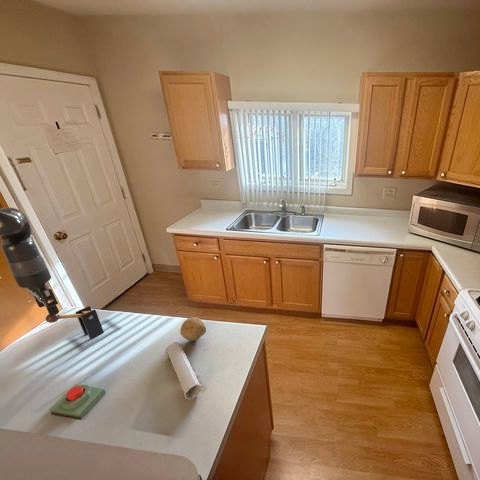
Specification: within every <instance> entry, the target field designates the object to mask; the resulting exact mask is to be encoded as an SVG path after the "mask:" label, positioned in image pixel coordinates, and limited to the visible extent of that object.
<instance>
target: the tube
mask: <svg viewBox="0 0 480 480" xmlns="http://www.w3.org/2000/svg"><path fill="white" fill-rule="evenodd" d="M166 352H167V355H168V358H169V360H170V362H171V365H172V367H173V369H174V372H175V374H176V377H177V380H178V381H179V383H180V387H181V389H182V391H183V396H184V398H185V399H186V400H190V401H191V400H193V399H194V398H196V397H198V396H199V395H200V393H201V392H202V391H203V386H202V384H201V383H200V382H199V380H198V378H197V375H196V373H195V371H194V369H193V367H192V365H191V363H190V361H189V359H188V357H187V355H186V353H185V350H184V349H183V346H182V345H181V343H180V342H177V341H174V342H171V343H169V345H168V346H167V347H166Z"/></svg>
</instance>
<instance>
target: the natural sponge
mask: <svg viewBox="0 0 480 480" xmlns="http://www.w3.org/2000/svg"><path fill="white" fill-rule="evenodd" d="M206 332H207V327H206V325H205V323H204V322H203V320H202V319H201V318H199V317H196V316H192V317H188V318H187V319H186V320H184V322H182V324H181V326H180V331H179V333H180V335H181V337H183V338H184V339H185V340H187V341H190V342H195V341H197V340H199V338H201V337H203V336H204V335H205V334H206Z"/></svg>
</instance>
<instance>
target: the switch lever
mask: <svg viewBox="0 0 480 480" xmlns="http://www.w3.org/2000/svg"><path fill="white" fill-rule="evenodd" d="M88 312H90V311H82V313H81V314H76V313H70V314H59V313H58V314H55V315H53V316H51V315H49V313H48V314H47V315H46V316H45V321H46V322H47V323H48V324H49V323H50V324H52V323H53V324H54V323H56V322H58V321H59V320H63V319H65V320H66V319H74V318H75V319H76V318H77V317H80V318H81V315H83V314H86V313H88ZM77 319H78V318H77Z"/></svg>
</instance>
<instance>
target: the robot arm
mask: <svg viewBox="0 0 480 480" xmlns="http://www.w3.org/2000/svg"><path fill="white" fill-rule="evenodd" d="M0 239H1V244H0V249H1V252H2V254H3V256H4V258H5V260H6V262H7V265H8V269H9V270H10V272H11V274H12V276H13V279H14V281H15V282H16V284H17V286H18V287H19V288H22V289H27V292H28V294H29V296H31V297H32V298H33V299H34V301H35V303H36V305H37V306H38V308H43V307H45V309H46V310H47V313H48V314H49V315H51V316H53V315H55V314H59V313H60V310H59V309H58V307H57V306H58V305H59V302H58V300H57V298H56V296H55V294H54V292H53V289H52V288H51V287H50V286H49V285H48V284H47V283H48V282H49V281H50V280H51V279H52V275H51V272H50V271H49V268H48V266H47V264H46V261H45V260H44V257H42V255H41V253H40V250H39V249H38V246H37V244H36V243H35V242H36V241H35V240H34V237H33V232H32V228H31V224H30V221H29V218H28V216H27V215H26V214H25V212H23V211H22V210H20V209H18V208H16V207H9V206H7V207H1V208H0Z"/></svg>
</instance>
